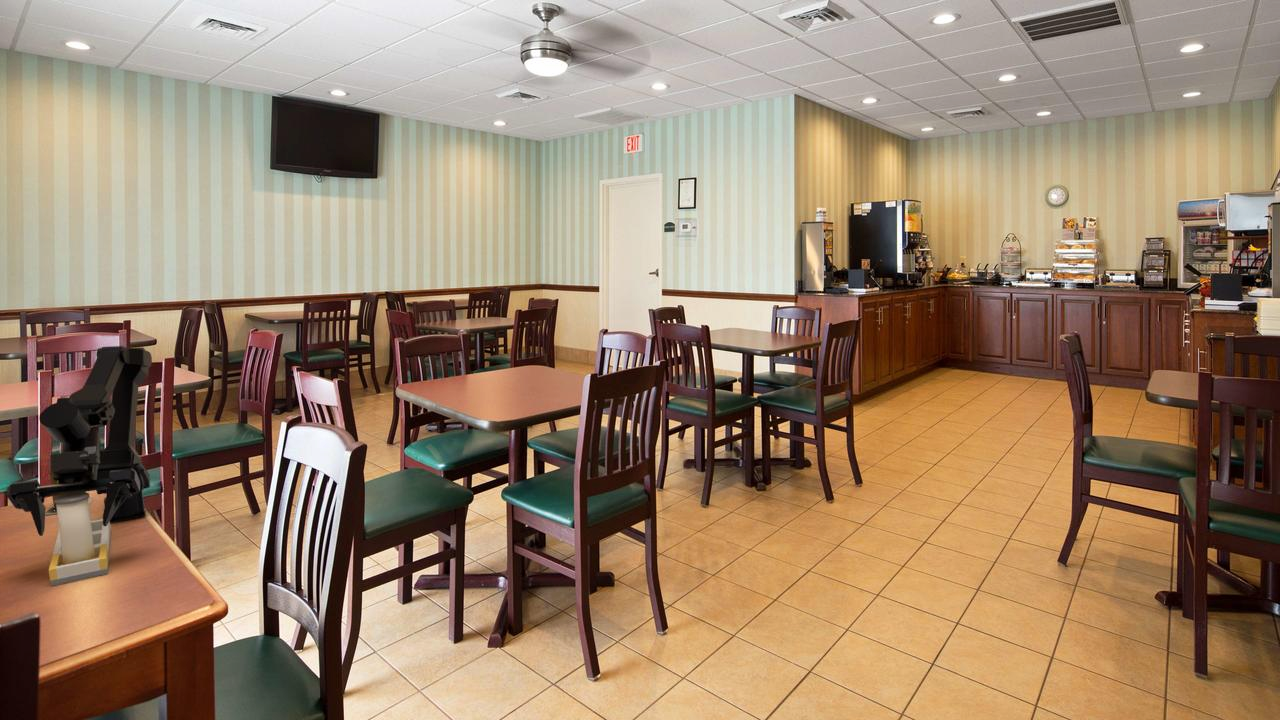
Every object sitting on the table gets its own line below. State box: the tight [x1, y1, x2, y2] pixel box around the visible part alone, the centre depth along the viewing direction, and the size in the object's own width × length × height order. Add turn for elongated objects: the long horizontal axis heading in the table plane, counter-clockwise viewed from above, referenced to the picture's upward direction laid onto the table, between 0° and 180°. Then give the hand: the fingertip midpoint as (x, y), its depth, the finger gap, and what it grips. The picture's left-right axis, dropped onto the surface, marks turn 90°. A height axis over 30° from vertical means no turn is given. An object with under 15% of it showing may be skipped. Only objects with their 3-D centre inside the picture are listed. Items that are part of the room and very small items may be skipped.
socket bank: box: [48, 518, 112, 587], centre depth 135 cm, size 8×24×3 cm, turn 35°
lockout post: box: [54, 492, 95, 565], centre depth 128 cm, size 5×5×13 cm
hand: (73, 530), depth 126 cm, fingers open, 9 cm apart
